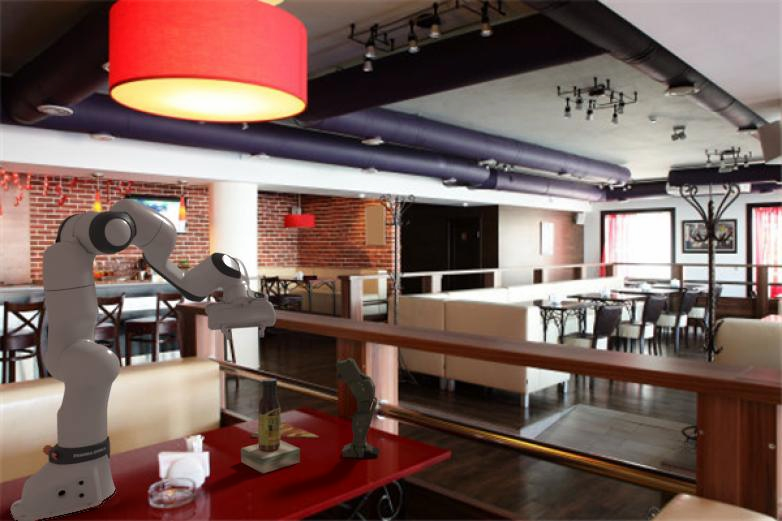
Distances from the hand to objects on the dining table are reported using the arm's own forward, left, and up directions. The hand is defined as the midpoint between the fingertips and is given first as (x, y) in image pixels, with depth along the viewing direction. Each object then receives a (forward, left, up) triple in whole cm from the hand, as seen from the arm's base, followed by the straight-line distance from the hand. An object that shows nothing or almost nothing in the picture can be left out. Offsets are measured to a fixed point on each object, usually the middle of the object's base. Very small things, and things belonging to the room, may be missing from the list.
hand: (245, 337), depth 172 cm
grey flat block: (+2, -9, -35) cm, 37 cm away
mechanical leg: (+24, -22, -36) cm, 48 cm away
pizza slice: (+17, +10, -36) cm, 41 cm away
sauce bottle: (+2, -9, -32) cm, 33 cm away
